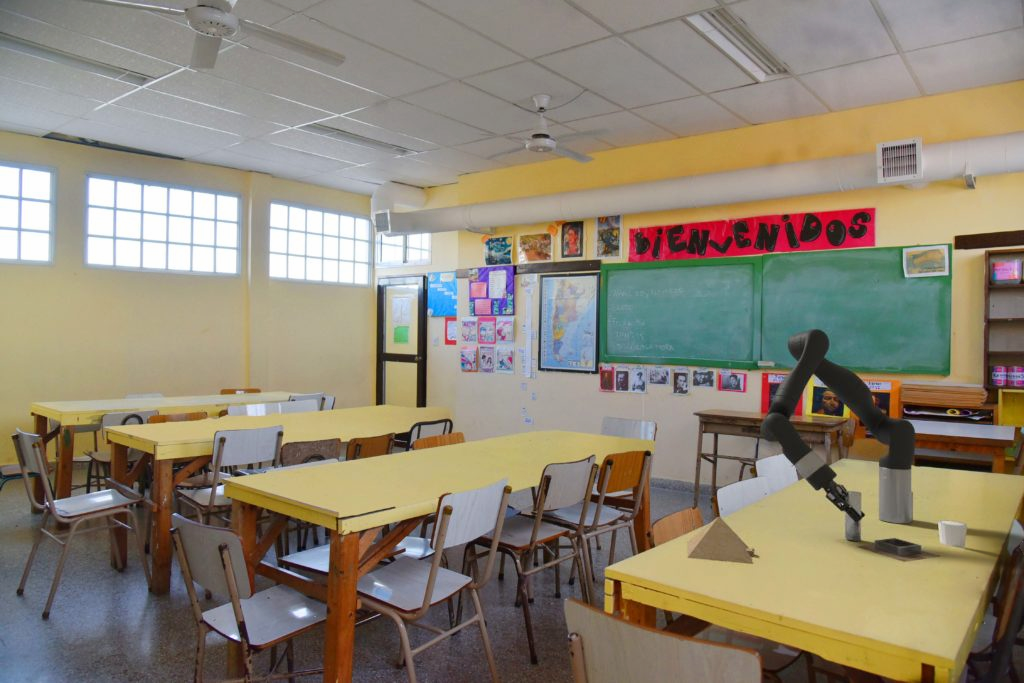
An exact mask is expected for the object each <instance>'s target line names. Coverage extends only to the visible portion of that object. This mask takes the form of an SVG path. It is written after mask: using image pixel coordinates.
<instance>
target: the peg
mask: <svg viewBox="0 0 1024 683" xmlns="http://www.w3.org/2000/svg"><path fill="white" fill-rule="evenodd" d="M845 496H846V497H847V501H848V502H849V503H850V504H851V505H852V507H853V508H854V509H855V510H856V511H857V512H858V513H859V514H860V515H861V511H862V492H860V491H855V490H847V491H846V493H845ZM844 513H845V514H844V519H845V520H844V521H845V522H844V538H845V539H846V540H851V541H861V540H862V519H861V520H860V521H859V522H855V521H854V520H853V519H852V518H851V517H850V516H849V515H848V514H847V513H846V512H844Z"/></svg>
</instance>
